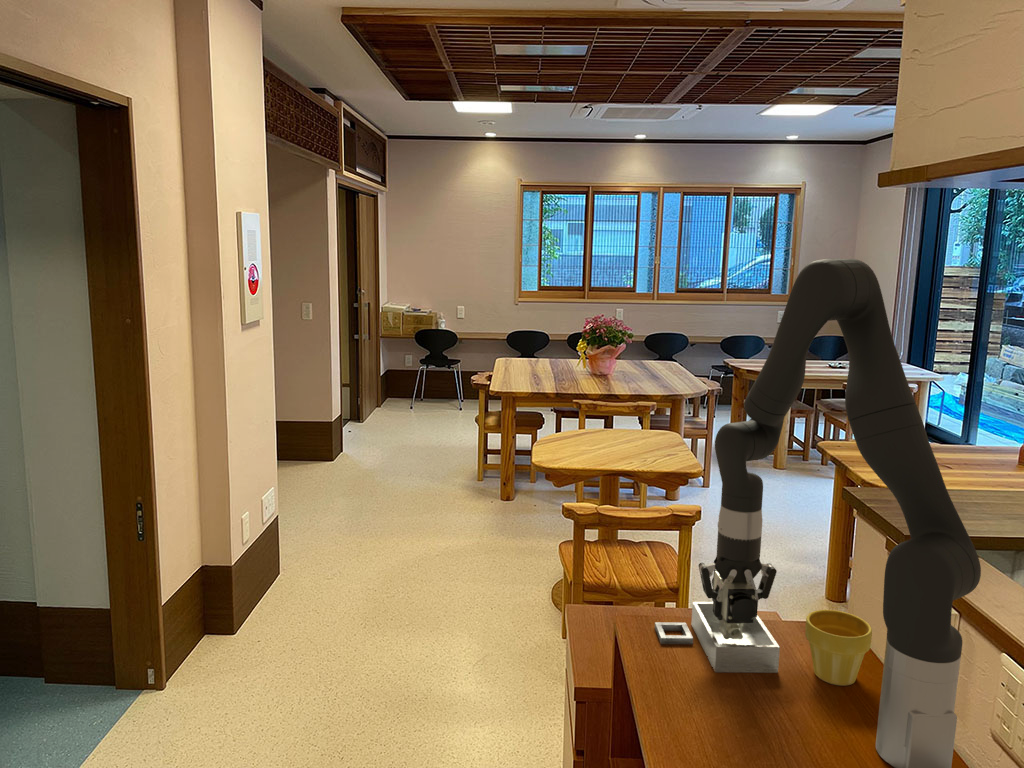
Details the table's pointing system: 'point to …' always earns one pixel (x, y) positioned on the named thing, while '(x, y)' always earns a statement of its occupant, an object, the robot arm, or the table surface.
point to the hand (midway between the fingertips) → (734, 617)
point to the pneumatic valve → (736, 607)
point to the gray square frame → (673, 639)
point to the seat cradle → (735, 643)
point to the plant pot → (837, 644)
